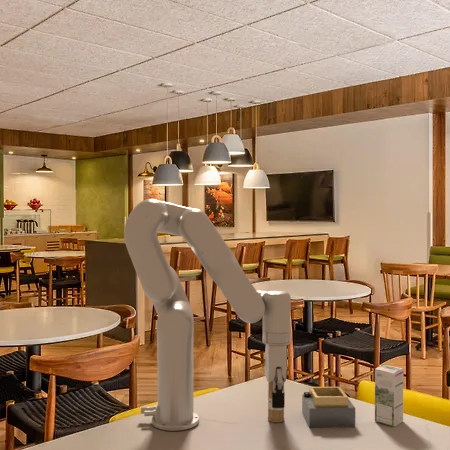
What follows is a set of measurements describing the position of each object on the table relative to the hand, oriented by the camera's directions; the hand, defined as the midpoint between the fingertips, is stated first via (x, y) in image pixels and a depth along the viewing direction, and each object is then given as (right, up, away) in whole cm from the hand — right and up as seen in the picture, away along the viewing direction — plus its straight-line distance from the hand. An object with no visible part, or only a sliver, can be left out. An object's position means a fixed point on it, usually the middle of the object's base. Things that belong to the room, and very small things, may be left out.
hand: (276, 401), depth 148 cm
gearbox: (+14, -5, +1) cm, 15 cm away
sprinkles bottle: (0, -5, 0) cm, 5 cm away
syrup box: (+30, -5, -1) cm, 31 cm away
